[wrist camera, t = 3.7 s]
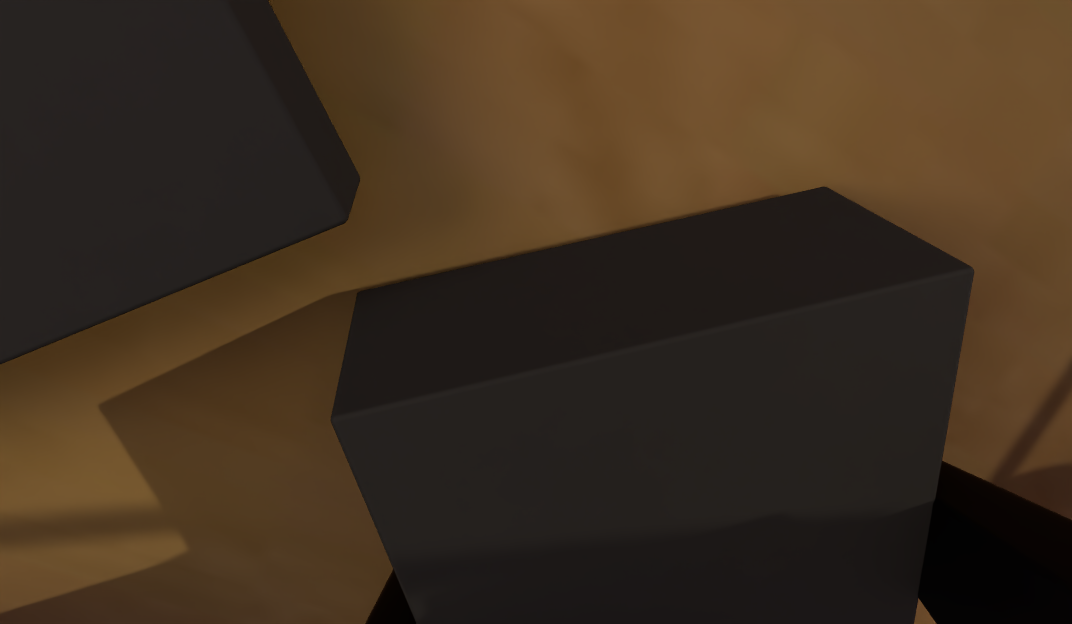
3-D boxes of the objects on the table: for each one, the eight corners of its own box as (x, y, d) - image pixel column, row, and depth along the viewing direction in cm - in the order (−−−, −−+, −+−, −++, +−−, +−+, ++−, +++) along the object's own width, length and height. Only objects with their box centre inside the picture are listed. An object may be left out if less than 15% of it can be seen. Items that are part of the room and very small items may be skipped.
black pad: (808, 572, 13) (900, 716, 10) (484, 654, 12) (499, 822, 10) (825, 184, 9) (977, 267, 6) (356, 290, 9) (327, 420, 6)
